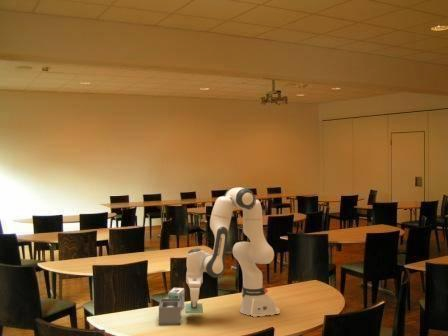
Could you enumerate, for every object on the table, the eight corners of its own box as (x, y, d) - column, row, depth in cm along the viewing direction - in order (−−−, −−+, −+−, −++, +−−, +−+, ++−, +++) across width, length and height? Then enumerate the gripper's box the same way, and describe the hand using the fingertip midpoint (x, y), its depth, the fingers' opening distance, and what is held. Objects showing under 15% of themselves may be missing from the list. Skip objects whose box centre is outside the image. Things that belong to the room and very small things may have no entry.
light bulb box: (179, 312, 256) (179, 293, 256) (167, 311, 257) (168, 292, 257) (184, 306, 266) (184, 287, 266) (173, 305, 268) (173, 287, 268)
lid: (202, 305, 250) (202, 297, 250) (202, 313, 237) (203, 304, 237) (185, 305, 250) (185, 297, 250) (185, 313, 236) (185, 304, 236)
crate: (180, 315, 250) (180, 298, 250) (180, 324, 236) (180, 307, 235) (160, 315, 250) (160, 298, 250) (158, 325, 235) (158, 307, 235)
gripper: (188, 274, 253) (188, 299, 253) (188, 284, 233) (188, 311, 233) (199, 274, 254) (199, 299, 254) (200, 284, 234) (200, 311, 234)
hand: (194, 305), depth 243 cm, fingers closed on lid, 3 cm apart
